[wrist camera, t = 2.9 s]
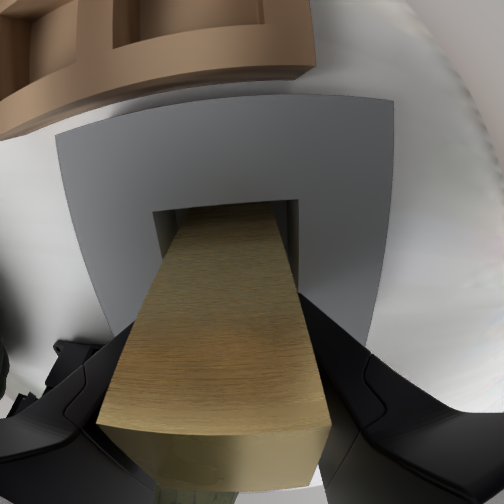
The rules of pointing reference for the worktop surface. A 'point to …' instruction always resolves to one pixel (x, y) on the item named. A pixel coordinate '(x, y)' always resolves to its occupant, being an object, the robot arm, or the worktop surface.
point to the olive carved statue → (191, 496)
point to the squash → (3, 368)
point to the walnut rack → (139, 51)
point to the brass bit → (220, 363)
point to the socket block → (237, 191)
